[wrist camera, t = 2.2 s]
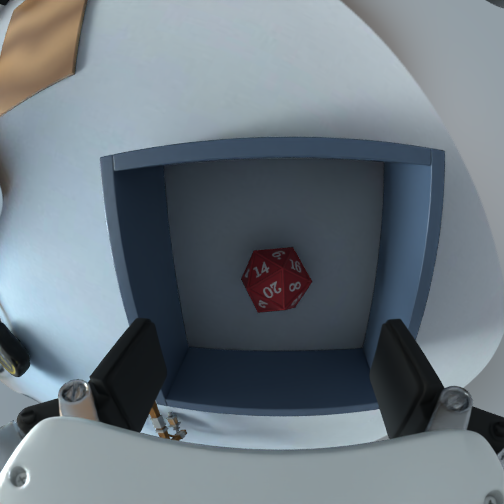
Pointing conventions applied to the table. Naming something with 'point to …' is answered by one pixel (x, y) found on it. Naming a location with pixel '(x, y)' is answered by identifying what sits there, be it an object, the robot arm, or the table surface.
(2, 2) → the digital camera
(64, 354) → the table surface
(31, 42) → the cork mat
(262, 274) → the dice
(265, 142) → the tote
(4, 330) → the tape measure
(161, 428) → the wooden post with brackets
